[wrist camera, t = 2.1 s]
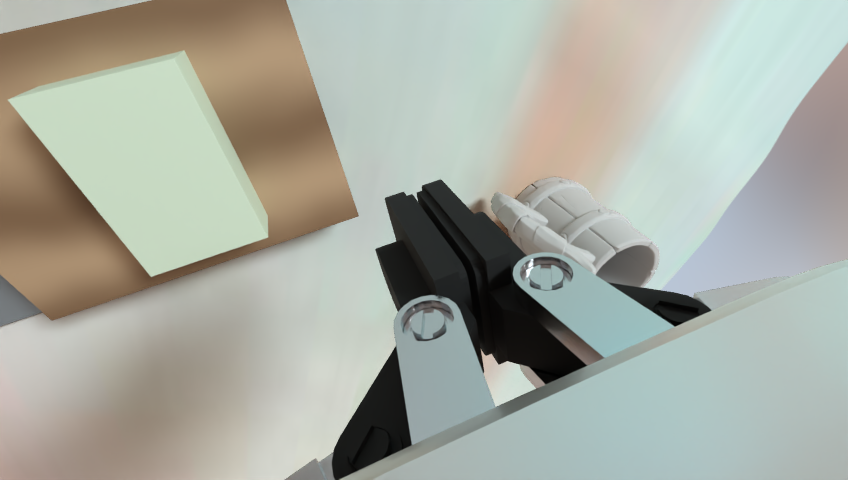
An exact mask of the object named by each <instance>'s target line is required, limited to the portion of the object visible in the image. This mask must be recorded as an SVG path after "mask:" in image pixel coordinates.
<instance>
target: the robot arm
mask: <svg viewBox="0 0 848 480" xmlns="http://www.w3.org/2000/svg"><path fill="white" fill-rule="evenodd" d="M417 198H418V201H417V200H416V199H415V197H414V196H413V195H412V194H411V195H408V196H406V194H405V193H404V192H401V193H398V194H395V195H392V196H389V197H386V198H385V201H386V205H387V209H388V213H389V216H390V220H391V223H392V227H393V230H394V234H395V237H396V241H397V242H394V243H391V244H388V245H385V246H382V247H380V248H377V249H376V253H377V256H378V259H379V262H380V265H381V269H382V272H383V274H384V277H385V280H386V283H387V286H388V288H389V291H390V294H391V296H392V299H393V301H394V304H395V306H396V309H397V311H398V313H397V315H396V317H395V320H394V334H395V340H396V347H395V348H394V350H393V352H392V353H391V355H390V356H389V358H388V360H387V361H386V363H385V365H384V366H383V368H382V369H381V371H380V373H379V374H378V376H377V377H376V379H375V381H374V382H373V384H372V386H371V387H370V389H369V390H368V392H367V394H366V395H365V397H364V399H363V400H362V402H361V403H360V405H359V407H358V408H357V410H356V412H355V413H354V415H353V416H352V418H351V420H350V421H349V423H348V425H347V426H346V428H345V429H344V431H343V433H342V434H341V436H340V438H339V440H338V442H337V444H336V446H335V448H334V452H333V453H331V454H330V455H329V456H327V457H326V458H324V459H323V460H322V461H320V462H318V461H317V459H316V458H315V459H314V460H312V461H311V462H309V463H308V464H307V465H305V466H304V467H302V468H301V469H299V470H298V471H296V472H295V473H294V474H292V475H291V476H289V477H288V478H286V479H285V480H848V259H846V260H842V261H839V262H835V263H832V264H828V265H824V266H820V267H817V268H814V269H812V270H809V271H806V272H803V273H801V274H798V275H795V276H792V277H774V278H769V279H764V280H759V281H754V282H748V283H743V284H739V285H733V286H728V287H723V288H718V289H713V290H708V291H703V292H697V293H694V297H693V298H692V297H689V296H687V295H683V294H678V293H674V292H667V291H661V290H654V289H648V288H642V287H635V286H629V285H622V284H616V283H609V282H605V281H604V280H602V279H601V278H599V277H598V276H596V275H595V274H593V273H592V272H590V271H589V270H587V269H585V268H584V267H582V266H581V265H579V264H578V263H576V262H575V261H573V260H572V259H570V258H568V257H566V256H564V255H561V254H556V253H549V252H541V253H535V254H531V255H528V256H527V255H526V254H525V253H524V252H523V251H522V250H521V249H520V248H519V247H518V246H517V245H516V244H515V243H514V242H513V241H512V240H511V239H510V238H509V237H508V236H507V235H506V234H505V233H504V232H503V231H502V230H501V229H500V228H499V227H498V226H497V225H496V224H495V223H494V222H493V221H492V220H491V219H490V218H489V217H488V216H487V215H486V214H485V213H483V212H478V213H475V214H473V213H472V212H471V211H470V210H469V209H468V207H467V206H466V205H465V204H464V203H463V202H462V201H461V200H460V199H459V198H458V197H457V196H456V195H455V194H454V193H453V192H452V191H451V189H450V188H449V187H448V186H447V185H446V184H445V183H444V182H443V181H442V180H437V181H434V182H431V183H428V184H425V185H422V191H420V192H417ZM418 202H419V203H418ZM481 350H482V351H483V353H484V354H485V355H486V356H487V355H489V354H492V355H493V356H494V358H495V360H496V361H497V363H498V364H501V363H504V362H506V361H509V362H513V363H516V364H520V368H521V371H522V372H523V374H524V375H525V377H526V378H527V379H528V380H529V381H530V382H531V383H532V384H533V385H534V386H535V387H536V389H535V390H532V391H530V392H528V393H526V394H524V395H521V396H519V397H517V398H515V399H513V400H510V401H508V402H506V403H504V404H502V405H499V406H497V407H495V404H494V401H493V399H492V396H491V393H490V391H489V388H488V385H487V382H486V380H485V377H484V374H483V373H484V367H483V361H482V355H481Z"/></svg>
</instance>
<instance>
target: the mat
mask: <svg viewBox="0 0 848 480" xmlns="http://www.w3.org/2000/svg"><path fill="white" fill-rule="evenodd" d="M41 312H42V311H41V310H39V309H38V308H37V307H36V306H35V305H34V304H33V303H32V302H30V301H29V300H28V299H27V298H26V297H25V296H24V295H23V294H22V293H20V292H19V291H18V290H17V289H16V288H15V287H14V286H13V285H11V284H10V283H9V282H8V281H7V280H6V279H5V278H4V277H3V276H1V275H0V326H3V325H6V324H9V323H12V322H15V321H18V320H21V319H24V318H27V317H30V316H32V315H35V314H38V313H41Z"/></svg>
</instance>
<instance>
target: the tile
mask: <svg viewBox="0 0 848 480" xmlns="http://www.w3.org/2000/svg"><path fill="white" fill-rule="evenodd" d="M8 101H9V102H10V103H11V105H12V106H13V107H14V108H15V110H16V111H17V112H18V113H19V115H20V116H21V117H22V118H23V119H24V121H25V122H26V123H27V124H28V126H29V127H30V128H31V129H32V131H33V132H34V133H35V134H36V136H37V137H38V138H39V139H40V140H41V142H42V143H43V144H44V145H45V147H46V148H47V149H48V150H49V152H50V153H51V154H52V155H53V157H54V158H55V159H56V160H57V161H58V163H59V164H60V165H61V166H62V168H63V169H64V170H65V171H66V173H67V174H68V175H69V176H70V178H71V179H72V180H73V181H74V182H75V184H76V185H77V186H78V187H79V189H80V190H81V191H82V192H83V194H84V195H85V196H86V197H87V198H88V200H89V201H90V202H91V203H92V205H93V206H94V207H95V208H96V210H97V211H98V212H99V213H100V215H101V216H102V217H103V218H104V219H105V221H106V222H107V223H108V224H109V226H110V227H111V228H112V229H113V231H114V232H115V233H116V234H117V236H118V237H119V238H120V239H121V240H122V242H123V243H124V244H125V245H126V247H127V248H128V249H129V250H130V252H131V253H132V254H133V255H134V257H135V258H136V259H137V260H138V261H139V263H140V264H141V265H142V266H143V268H144V269H145V270H146V271H147V273H148V274H149V275H150V276H151V277H152V276H155V275H158V274H161V273H164V272H167V271H170V270H173V269H176V268H179V267H182V266H185V265H188V264H191V263H194V262H197V261H200V260H203V259H206V258H209V257H212V256H215V255H217V254H220V253H223V252H226V251H229V250H232V249H235V248H238V247H241V246H244V245H247V244H250V243H253V242H256V241H259V240H262V239H265V238H268V215H267V213H266V211H265V209H264V207H263V205H262V203H261V201H260V199H259V197H258V195H257V193H256V191H255V189H254V188H253V186H252V184H251V182H250V180H249V178H248V176H247V174H246V172H245V170H244V168H243V166H242V164H241V162H240V160H239V158H238V156H237V154H236V152H235V150H234V148H233V146H232V144H231V142H230V140H229V138H228V136H227V134H226V132H225V130H224V128H223V126H222V124H221V122H220V120H219V118H218V116H217V114H216V112H215V110H214V108H213V106H212V104H211V102H210V100H209V98H208V96H207V94H206V92H205V90H204V88H203V86H202V84H201V82H200V80H199V78H198V77H197V75H196V73H195V71H194V69H193V67H192V65H191V63H190V61H189V59H188V57H187V55H186V53H185V51H180V52H176V53H171V54H167V55H163V56H159V57H155V58H151V59H147V60H143V61H139V62H135V63H131V64H127V65H123V66H119V67H115V68H111V69H107V70H102V71H98V72H94V73H90V74H86V75H82V76H78V77H74V78H70V79H66V80H62V81H58V82H54V83H50V84H46V85H42V86H38V87H36V88H33V89H31V90H29V91H26V92H24V93H22V94H20V95H17V96H15V97H13V98H11V99H8Z"/></svg>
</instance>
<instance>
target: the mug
mask: <svg viewBox="0 0 848 480" xmlns="http://www.w3.org/2000/svg"><path fill="white" fill-rule="evenodd" d="M491 203H492V205H491V208H492V211H493V213H494V214H495V215H496V216H497V217H498V219H499V220H500V221H501V223H502V224H503V225H504V226H505V227H506V228H507V229H508V233H509V236H510V237H511V239H512V241H513V242H514V243H515V244H516V245H517V246H518V247H519V248H520V249H521V250H522V251H523V252H524V253H525V254H526V255H527V256H528V255H531V254H535V253H541V252H549V253H556V254H561V255H564V256H566V257H568V258H570V259H572V260H573V261H575V262H576V263H578V264H579V265H581V266H582V267H584V268H585V269H587V270H589V271H590V272H592V273H593V274H595V275H596V276H598V277H599V278H601V279H602V280H604V281H605V282H609V283H616V284H622V285H629V286H635V287H644V286H645V285H646V284H647V283H648V282H649V281H650V279H651V278H652V277H653V275H654V274H655V270H656V269H657V267H658V264H659V249H658V247H657V245H656V244H655V243H654V242H653V241H651V240H650V239H649V238H647V237H646V236H645V235H643V234H642V233H640V232H639V231H638V230H636V229H635V228H634V227H633V226H632V224H631V222H630V221H629V220H628V219H627V218H626V217H625V216H623V215H621V214H620V213H618V212H616V211H614V210H609V209H607V208H606V207H604V206H603V205H601V204H600V203H599V202H597V201H596V200H594V199H593V198H592V196H591V194H590V192H589V191H588V190H587V189H586V188H585V187H584V186H582V185H581V184H579V183H577V182H575V181H573V180H569V179H563V178H560V177H551V178H546V179H542V180H538V181H536V182H534V183H533V186H532V185H529V186H528V187H527V188H526V189H525V190H523V191H522V192H521V193H520V195H519V196H518V197H517V198H516V200H515V199H514V198H512V197H510V196H508V195H505V194H502V193H499V192H497V193H495V194H494V196H493V198H492V200H491Z"/></svg>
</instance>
